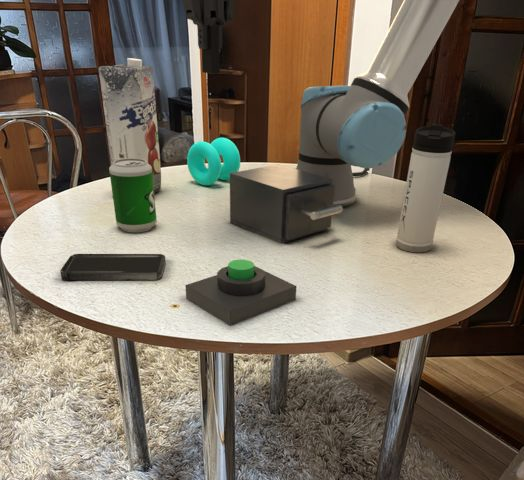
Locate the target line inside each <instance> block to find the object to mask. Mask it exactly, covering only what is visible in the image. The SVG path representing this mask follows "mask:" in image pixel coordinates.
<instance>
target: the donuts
mask: <svg viewBox="0 0 524 480" xmlns="http://www.w3.org/2000/svg"><path fill="white" fill-rule="evenodd" d="M221 157H222V160H223V164H222V160H221ZM186 160H187V161H186V163H187V169H188V172H189V174H190V175H191V177H192V179H193V180H194V181H195V182H196V183H198V184H199V185H202V186H212V185H214V184H215V183H216V182H217V181H218V180H219V179H220V180H222V181H230V173H233V172H239V171H240V168H241V155H240V152H239V149H238V147H237V145H236V144H235V143H234V142H233V141H232V140H230V139H229V138H227V137H217V138H215V139H214V140H212V141H211V142H207V141H203V140H201V141H200V140H199V141H196V142H195V143H193V144H192V145H191V147H190V148H189V150H188V152H187V156H186ZM205 160H206V162H207V166H206V164H205Z"/></svg>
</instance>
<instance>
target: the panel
mask: <svg viewBox="0 0 524 480" xmlns="http://www.w3.org/2000/svg"><path fill="white" fill-rule="evenodd" d="M185 299H186V300H187V301H189V302H190V303H192V304H194V305H196V306H197V307H199V308H200V309H202V310H203V311H205V312H206V313H209V314H210V315H211V316H213V317H215V318H217V319H218V320H220V321H221V322H223V323H225V324H226V325H228V326H233V325H236V324H238V323H241V322H243V321H246V320H248V319H251V318H253V317H256V316H258V315H260V314H261V315H262V314H264V313H266V312H268V311H271V310H273V309H277V308H278V307H280V306H284V305H287V304H288V303H291V302H293V301H296V299H297V285H295V284H293V283H291V282H289V281H287V280H284V279H283V278H280V277H279V276H276V275H274V274H272V273H270V272H268V271H266V270H264V269H262V268H260V267H258V266H256V265H254V278H251V279H248V280H236V279H231V278H229V277H228V265H227V266H224V267H221V268H220V269H219V270H218V271H217V272H216V275H212V276H210V277H205V278H203V279H200V280H196V281H193V282H190V283H188V284H185Z"/></svg>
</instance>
